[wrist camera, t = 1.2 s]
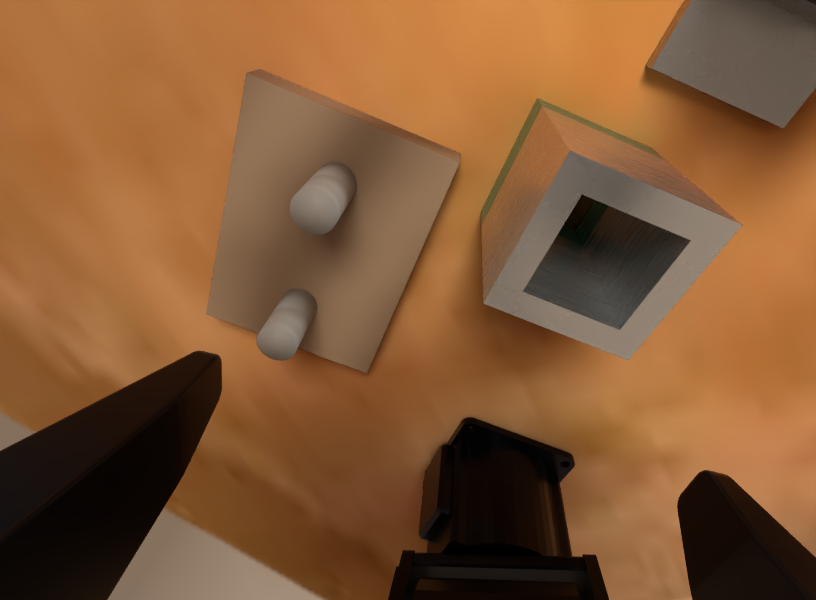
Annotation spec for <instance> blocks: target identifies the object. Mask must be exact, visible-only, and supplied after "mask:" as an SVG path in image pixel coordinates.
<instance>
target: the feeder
mask: <svg viewBox="0 0 816 600" xmlns="http://www.w3.org/2000/svg"><path fill="white" fill-rule="evenodd" d="M646 66H647V67H649V68H651V69H653V70H655V71H658V72H660V73H662V74H664V75H666V76H669V77H671V78H673V79H675V80H677V81H680V82H682V83H684V84H686V85H688V86H691V87H693V88H695V89H697V90H699V91H701V92H704V93H706V94H708V95H710V96H712V97H715V98H717V99H719V100H721V101H723V102H726V103H728V104H730V105H732V106H734V107H737V108H739V109H741V110H743V111H745V112H748V113H750V114H752V115H754V116H756V117H758V118H761V119H763V120H765V121H767V122H769V123H772V124H774V125H776V126H779V127H781V128H783V129H784V127H785V126H786V125H787V124H788V122H789V121H790V120H791V119H792V117H793V116H794V115H795V114H796V112H797V111H798V110H799V109H800V107H801V106H802V105H803V103H804V102H805V101H806V100H807V98H808V97H809V96H810V95H811V93H812V92H813V91H814V90H815V88H816V0H685V1H684V2H683V4H682V6H681V7H680V9H679V11H678V12H677V14H676V16H675V17H674V19H673V21H672V22H671V24H670V26H669V27H668V29H667V31H666V32H665V34H664V36H663V38H662V39H661V41H660V43H659V44H658V46H657V48H656V49H655V51H654V53H653V54H652V56H651V58H650V59H649V61H648V63H647V64H646Z"/></svg>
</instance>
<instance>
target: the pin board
mask: <svg viewBox="0 0 816 600" xmlns="http://www.w3.org/2000/svg"><path fill="white" fill-rule="evenodd" d="M460 155H461V154H460V153H458V152H456V151H453V150H451V149H448V148H446V147H444V146H441V145H439V144H437V143H434V142H432V141H429V140H427V139H425V138H422V137H420V136H418V135H415V134H413V133H410V132H408V131H406V130H403V129H401V128H398V127H396V126H394V125H391V124H389V123H387V122H384V121H382V120H379V119H377V118H375V117H372V116H370V115H368V114H365V113H363V112H360V111H358V110H356V109H353V108H351V107H349V106H346V105H344V104H341V103H339V102H337V101H334V100H332V99H329V98H327V97H325V96H322V95H320V94H318V93H315V92H313V91H310V90H308V89H306V88H303V87H301V86H299V85H296V84H294V83H291V82H289V81H287V80H284V79H282V78H280V77H277V76H275V75H272V74H270V73H268V72H265V71H263V70H261V69H259V70H255V71H252V72H249V73H246V79H245V85H244V91H243V97H242V103H241V109H240V115H239V121H238V127H237V133H236V139H235V145H234V151H233V157H232V163H231V169H230V175H229V181H228V187H227V193H226V199H225V205H224V211H223V217H222V223H221V229H220V235H219V240H218V246H217V252H216V258H215V264H214V270H213V276H212V282H211V288H210V294H209V300H208V306H207V312H206V315H209V316H212V317H215V318H217V319H220V320H223V321H225V322H228V323H231V324H234V325H236V326H239V327H242V328H245V329H247V330H250V331H253V332H255V333H258V336H257V345H258V348H259V349H260V351H261V352H262V353H263V354H264V355H266V356H267V357H269V358H271V359H274V360H287V359H290V358H291V357H293V355H294V354H295V352H296V350H297V348H299V349H302V350H304V351H307V352H310V353H313V354H315V355H318V356H321V357H323V358H326V359H329V360H332V361H334V362H337V363H340V364H343V365H345V366H348V367H351V368H353V369H356V370H359V371H362V372H364V373H367V372H368V370H369V367H370V365H371V363H372V361H373V358H374V356H375V354H376V351H377V349H378V347H379V345H380V342H381V340H382V338H383V336H384V333H385V331H386V329H387V326H388V324H389V322H390V320H391V317H392V315H393V313H394V311H395V308H396V306H397V304H398V302H399V299H400V297H401V295H402V292H403V290H404V288H405V286H406V283H407V281H408V279H409V277H410V274H411V272H412V270H413V268H414V265H415V263H416V261H417V258H418V256H419V254H420V252H421V249H422V247H423V245H424V243H425V240H426V238H427V236H428V234H429V231H430V229H431V227H432V224H433V222H434V220H435V218H436V215H437V213H438V211H439V209H440V206H441V204H442V202H443V200H444V197H445V195H446V193H447V190H448V188H449V186H450V184H451V181H452V179H453V177H454V175H455V172H456V170H457V168H458V166H459V163H460Z"/></svg>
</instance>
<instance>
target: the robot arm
mask: <svg viewBox="0 0 816 600" xmlns="http://www.w3.org/2000/svg"><path fill="white" fill-rule="evenodd" d="M221 391H222V363H221V358H220V356H218V355H217V354H213V353H208V352H204V351H195V352H193V353H191V354H189V355H187V356H185V357H183V358H181V359H179V360H177V361H175V362H173V363H171V364H169V365H167V366H165V367H163V368H161V369H159V370H158V371H156V372H154V373H152V374H150V375H148V376H146V377H144V378H142V379H140V380H138V381H136V382H134V383H132V384H130V385H128V386H126V387H124V388H122V389H120V390H118V391H116V392H114V393H113V394H111V395H109V396H107V397H105V398H103V399H101V400H99V401H97V402H95V403H93V404H91V405H89V406H87V407H85V408H83V409H81V410H79V411H77V412H75V413H73V414H71V415H69V416H68V417H66V418H64V419H62V420H60V421H58V422H56V423H54V424H52V425H50V426H48V427H46V428H44V429H42V430H40V431H38V432H36V433H34V434H32V435H30V436H29V437H26V438H25V439H23V440H21V441H19V442H17V443H15V444H13V445H11V446H9V447H7V448H5V449H3V450H1V451H0V600H107V599H108V598H109V596H110V595H111V593H112V591H113V590H114V588H115V586H116V585H117V583H118V582H119V580H120V578H121V577H122V575H123V573H124V572H125V570H126V568H127V567H128V565H129V563H130V562H131V560H132V559H133V557H134V555H135V554H136V552H137V550H138V549H139V547H140V546H141V544H142V542H143V541H144V539H145V537H146V536H147V534H148V533H149V531H150V529H151V528H152V526H153V524H154V523H155V521H156V519H157V517H158V516H159V515H160V513H161V511H162V510H163V508H164V506H165V505H166V503H167V501H168V500H169V498H170V497H171V495H172V493H173V492H174V490H175V488H176V487H177V485H178V483H179V482H180V480H181V478H182V476H183V475H184V473H185V471H186V469H187V467H188V465H189V463H190V461H191V458H192V456H193V454H194V452H195V450H196V448H197V446H198V443H199V441H200V439H201V437H202V435H203V433H204V431H205V429H206V426H207V424H208V422H209V420H210V418H211V416H212V414H213V412H214V409H215V407H216V405H217V403H218V401H219V398H220V395H221ZM469 427H473V428H469ZM563 461H564V462H563ZM574 466H575V463H574V458H573V456H572V454H570V453H568V452H565V451H562V450H560V449H557V448H554V447H552V446H549V445H546V444H543V443H541V442H538V441H535V440H532V439H530V438H527V437H524V436H522V435H519V434H516V433H513V432H511V431H508V430H505V429H502V428H500V427H497V426H494V425H492V424H489V423H486V422H483V421H481V420H478V419H475V418H466V419H464V420H463V421H462V422H461V424H460V425H459V427H458V428H457V430H456V431H455V433H454V435H453V436H452V438H451V439H450V441H449V442H448V444H446V443H445V444H444V445H442V446H441V447H440V449H439V450H438V452H437V453H436V455H435V457H434V458H433V460H432V461H431V463H430V464H429V466H428V468H427V469H426V471H425V478H424V482H423V497H422V506H421V515H420V524H419V536H420V538H421V539H422V540H425V541H428V545H427V553H415V551H413V550H403V552H402V556H401V560H400V564H399V567H396V571H395V575H394V579H393V582H392V586H391V590H390V594H389V598H388V600H609V598H608V594H607V591H606V587H605V584H604V581H603V577H602V574H601V571H600V567H599V564H598V560H597V557H596V555H585V554H583V557H575V556H572V552H571V546H570V540H569V534H568V528H567V523H566V517H565V511H564V505H563V499H562V494H561V488H560V482H561V481H562V479H563V478H564V477H565V476H566V475H567V474H568V473H569V472H570V471H571V470H572V468H573V467H574ZM677 508H678V516H679V522H680V528H681V535H682V541H683V548H684V554H685V560H686V567H687V573H688V579H689V585H690V590H691V595H692V599H693V600H816V557H815V556H813V555H812V554H811V553H810V552H809V551H808V550H807V549H806V548H805V547H804V546H803V545H802V544H801V543H800V542H799V541H798V540H796V539H795V538H794V537H793V536H792V535H791V534H790V533H789V532H788V531H787V530H786V529H785V528H784V527H783V526H782V525H781V524H779V523H778V522H777V521H776V520H775V519H774V518H773V517H772V516H771V515H770V514H769V513H768V512H767V511H766V510H765V509H764V508H762V507H761V506H760V505H759V504H758V503H757V502H756V501H755V500H754V499H753V498H752V497H751V496H750V495H749V494H748V493H747V492H745V491H744V490H743V489H742V488H741V487H740V486H739V485H738V484H737V483H736V482H735V481H734V480H733V479H732V478H730V477H729V476H727V475H725V474H721V473H717V472H713V471H709V470H703V471H701V472H699V473H698V474H697V475H696V477H695V478H694V479H693V480H692V481H691V483H690V484H689V485H688V486H687V487H686V489H685V490H684V491H683V492H682V493H681V495H680V497H679V499H678V506H677Z"/></svg>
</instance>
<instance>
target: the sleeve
mask: <svg viewBox="0 0 816 600" xmlns="http://www.w3.org/2000/svg"><path fill="white" fill-rule="evenodd" d="M581 195H584V196H587V197H589V198H592V199H594V202H593V204H592V205H591V207H590V208H589V210H588V211H587V213H586V215H585V216H584V218H583V219H582V221H581V223H580V224H579V226H578V227H577V229H574V228H571V227H569V226H566V225H564V223H565V222H566V220H567V218H568V217H569V215H570V213H571V212H572V210H573V208H574V207H575V205H576V204H577V202H578V200H579V199H580V197H581ZM481 226H482V270H483V304H486V305H488V306H491V307H493V308H496V309H498V310H501V311H503V312H506V313H509V314H511V315H514V316H516V317H519V318H521V319H524V320H526V321H529V322H532V323H534V324H537V325H539V326H542V327H544V328H547V329H549V330H552V331H555V332H557V333H560V334H562V335H565V336H567V337H570V338H572V339H575V340H578V341H580V342H583V343H585V344H588V345H590V346H593V347H595V348H598V349H601V350H603V351H606V352H608V353H611V354H613V355H616V356H619V357H621V358H624V359H626V360H629V359H630V358H631V356H632V355H633V354H634V353H635V352H636V351H637V349H638V348H639V347H640V346H641V345H642V343H643V342H644V341H645V340H646V339H647V337H648V336H649V335H650V334H651V333H652V332H653V330H654V329H655V328H656V327H657V326H658V324H659V323H660V322H661V321H662V320H663V319H664V317H665V316H666V315H667V314H668V313H669V311H670V310H671V309H672V308H673V307H674V305H675V304H676V303H677V302H678V301H679V300H680V298H681V297H682V296H683V295H684V294H685V292H686V291H687V290H688V289H689V288H690V286H691V285H692V284H693V283H694V282H695V281H696V279H697V278H698V277H699V276H700V275H701V273H702V272H703V271H704V270H705V269H706V268H707V266H708V265H709V264H710V263H711V262H712V260H713V259H714V258H715V257H716V256H717V254H718V253H719V252H720V251H721V250H722V249H723V247H724V246H725V245H726V244H727V243H728V241H729V240H730V239H731V238H732V237H733V236H734V234H735V233H736V232H737V231H738V230H739V228H740V227H741V226H742V224H741V223H740V222H738V221H737V220H736V219H735V218H734V217H733V216H731V215H730V214H729V213H728V212H727V211H725V210H724V209H723V208H722V207H721V206H720V205H718V204H717V203H716V202H715V201H714V200H712V199H711V198H710V197H709V196H708V195H706V194H705V193H704V192H703V191H702V190H701V189H699V188H698V187H697V186H696V185H695V184H693V183H692V182H691V181H690V180H689V179H688V178H686V177H685V176H684V175H683V174H682V173H680V172H679V171H678V170H677V169H676V168H675V167H673V166H672V165H671V164H670V163H669V162H667V161H666V160H665V159H664V158H663V157H661V156H660V155H659V154H658V153H657V152H656V151H654V150H653V149H652V148H650V147H647V146H645V145H643V144H640V143H638V142H636V141H634V140H631V139H629V138H627V137H625V136H622V135H620V134H618V133H615V132H613V131H611V130H609V129H606V128H604V127H602V126H599V125H597V124H595V123H593V122H590V121H588V120H586V119H584V118H581V117H579V116H577V115H574V114H572V113H570V112H568V111H565V110H563V109H561V108H558V107H556V106H554V105H552V104H549V103H547V102H545V101H542V100H540V99H538V98H537V100H536V102H535V104H534V106H533V108H532V110H531V112H530V114H529V116H528V118H527V120H526V122H525V124H524V126H523V128H522V130H521V132H520V134H519V136H518V138H517V140H516V142H515V144H514V146H513V148H512V150H511V152H510V154H509V156H508V158H507V160H506V162H505V164H504V166H503V168H502V170H501V172H500V174H499V176H498V178H497V180H496V182H495V184H494V187H493V189H492V191H491V193H490V195H489V197H488V199H487V201H486V203H485V205H484V207H483V209H482V211H481Z"/></svg>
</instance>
